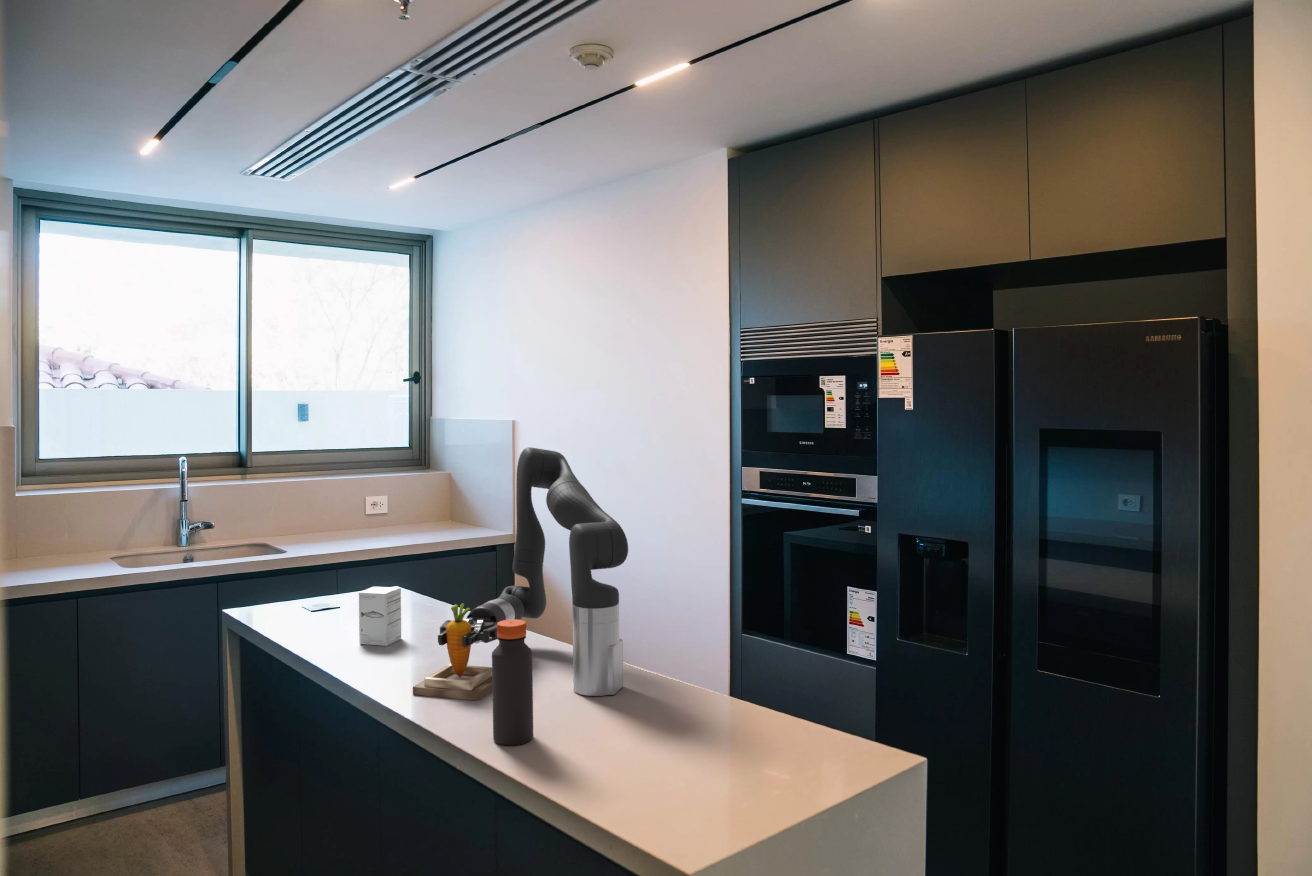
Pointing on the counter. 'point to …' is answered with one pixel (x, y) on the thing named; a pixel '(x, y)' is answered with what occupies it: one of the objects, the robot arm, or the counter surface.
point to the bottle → (512, 685)
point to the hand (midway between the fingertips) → (452, 641)
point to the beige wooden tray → (457, 683)
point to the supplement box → (380, 616)
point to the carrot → (458, 640)
